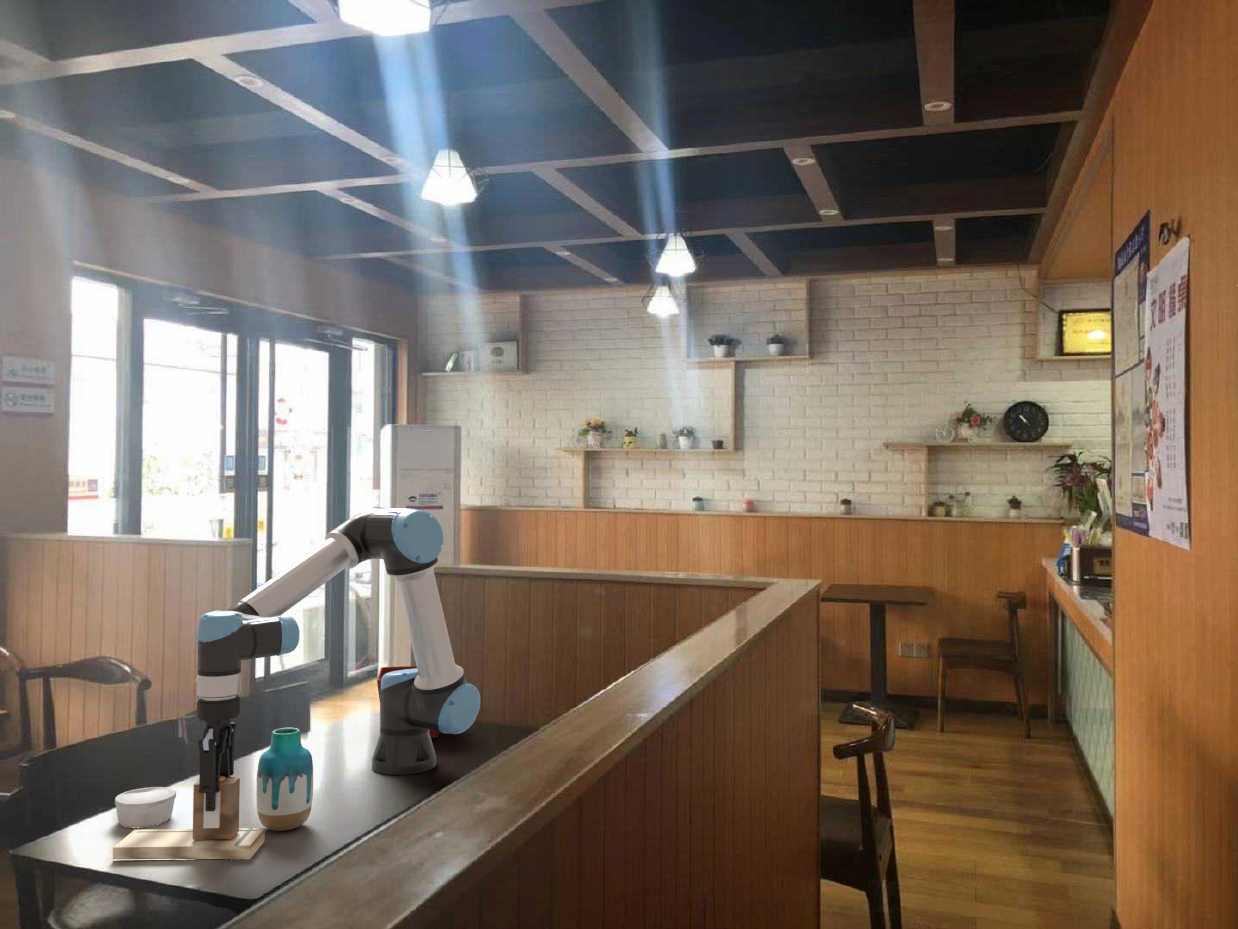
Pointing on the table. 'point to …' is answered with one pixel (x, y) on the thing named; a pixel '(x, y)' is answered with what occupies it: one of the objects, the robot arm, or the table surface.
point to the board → (188, 845)
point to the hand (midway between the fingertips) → (216, 822)
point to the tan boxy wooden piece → (227, 811)
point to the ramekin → (145, 806)
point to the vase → (284, 782)
